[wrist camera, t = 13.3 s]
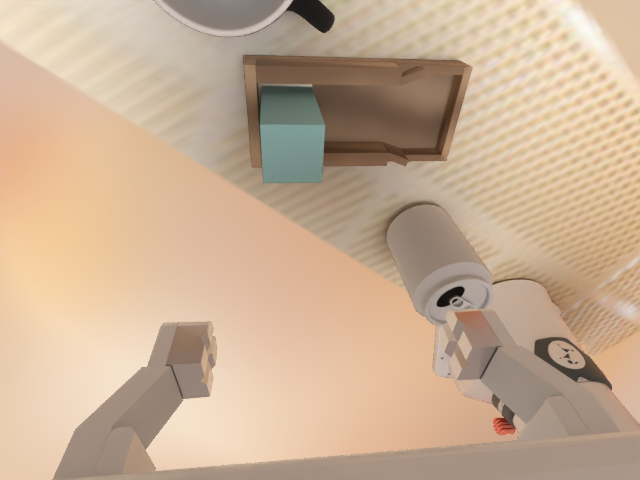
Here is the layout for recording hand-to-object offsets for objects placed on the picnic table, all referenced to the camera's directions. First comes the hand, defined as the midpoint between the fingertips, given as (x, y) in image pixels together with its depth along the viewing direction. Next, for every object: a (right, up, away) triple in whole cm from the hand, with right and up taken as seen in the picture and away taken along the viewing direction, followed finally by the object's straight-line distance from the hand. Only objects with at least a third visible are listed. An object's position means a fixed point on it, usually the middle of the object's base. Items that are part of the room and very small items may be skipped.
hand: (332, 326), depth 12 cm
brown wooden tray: (+2, +15, +19) cm, 24 cm away
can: (+11, +4, +29) cm, 31 cm away
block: (-3, +14, +18) cm, 23 cm away
